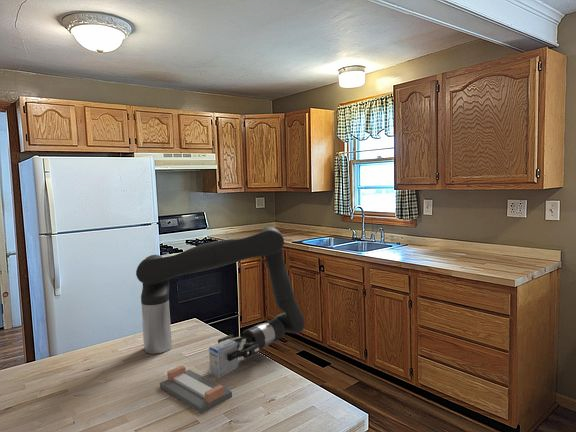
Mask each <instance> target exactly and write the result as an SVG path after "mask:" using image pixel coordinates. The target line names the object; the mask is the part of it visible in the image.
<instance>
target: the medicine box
mask: <svg viewBox="0 0 576 432" xmlns="http://www.w3.org/2000/svg"><path fill="white" fill-rule="evenodd" d="M235 350H238V347H237V342H235V341H233V340H230V339H227V340H225V341H222V342H220V343H218V342H217V343H216V344H214V345H212V346H209V347H208V352H209V353H208V355H209V372H210V374H211V375H212V376H213V377H216V378H219V379H221V378H222V377H224V376H225V375H227V374H230V373H231V372H233V371H235V370H236V369H239V357H238V358H236V359H234V360H231V361H228V360H227V354H228V353H230V352H233V351H235Z"/></svg>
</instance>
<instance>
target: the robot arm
mask: <svg viewBox="0 0 576 432" xmlns="http://www.w3.org/2000/svg"><path fill="white" fill-rule="evenodd" d="M284 243H285V239H284V236H283V235H282V233H281V231H279V229H277V228H276V227H273V226H267V227H263V228H262V229H261V230H260V231H259V232H258V233H255V234H253V235H250V236H246V237H244V238H243V237H242V238H236V239H235V238H233V239H222V240H221V239H220V240H215V241H211V242H205V243H201V244H199V245H196V246H193V247H191V248H189V249H186V250H184V251H182V252H179V253H176V254H174V255H168V256H165V257H163V256H161V255H160V254H152V255H149V256H146V257H145V258H144V259H143V260H141V262H139V264H138V266H137V268H136V271H135V274H136V275H135V276H136V278H137V280H138V282H140V283H141V284H142V288H141V289H142V290H141V295H140V303H141V314H142V316H141V317H142V336H143V348H144V352H145V353H147V354H151V355H153V354H154V355H155V354H161V353H165V352H167V351H169V350H171V349H172V347H173V342H172V328H171V324H172V323H171V315H170V314H171V313H170V298H169V297H170V295H169V294H170V279H174V278H176V277H179V276H184V275H188V274H189V275H190V274H194V273H200V272H204V271H209V270H213V269H218V268H221V267H225V266H229V265H231V264H235V263H238V262H241V261H243V260H248V259H253V258H260V257H264V259H265V262H266V264H267V268H268V273H269V278H270V284H271V289H272V292H273V297H274V300H275V305H276V307H277V308H278V310H282V311H283V312H282V313H281V312H280V313H279V314H277V315H276V316H274V317H273V319H271V320H269V321H266V322H264V323H259V324H257V325H254V326H252V327H249V328H247V329H244V330H243V331H242V333H241V334H240V336H236V337H234V335H233V334H228V335H226V336H223V337H220V338H219V339H217V344H218V343H220V342H222V341H225V340H227V339H230V340H233V341H235V342H237V347H238V350H235V351H233V352H230V353H228V354H227V360H228V361H231V360H234V359H236V358H238V359H241V358H243V359H249V358H251V357H253V356H255V355H256V354H259V353H260V350H261V349H264V348H265V347H267V346H270V345H271V344H272V343H274V342H276V341H278V340H281V339H282V338H283V337H284V335H285V333H288V334H289V333H291V334H300V333H302V332H303V331H304V330H305V325H306V320H305V316H304V314H303V313H302V310H301V309H300V306H299V304H298V303H297V301H296V299H295V298H296V297H295V294H294V290H293V286H292V282H291V280H290V276H289V273H288V271H287V267H286V263H285V260H284V255H283V248H284V245H285V244H284Z"/></svg>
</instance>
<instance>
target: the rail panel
mask: <svg viewBox="0 0 576 432" xmlns="http://www.w3.org/2000/svg"><path fill="white" fill-rule="evenodd" d="M166 373H167V379H165V380H162V381H161V382H159V388H160V389H161V390H163V391H164V392H166V393H167V394H170V395H171V396H172V397H174V398H175V399H178V400H179V401H180V402H182V403H183V404H186V405H187V406H189V407H190V408H192V409H193V410H195V411H197V412H199V414H203V413H205V412H207V411H209V410H211V409H212V408H215V407H216V406H218V405H219V404H221V403H223V402H225V401H227V400H229V399H230V398H232V396H233V393H232V392H233V391H231V390H230V389H228V388H226V387H224V386H223V385H222V384H218V383H216V382H215V381H212V380H210V379H209V378H206V377H205V376H203V375H201V374H198V373H197V372H195V371H193V370H191V369H187V370H186V366H184V365H179V366H178V367H175V368H173V369H171V370H168V371H167V372H166Z"/></svg>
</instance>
